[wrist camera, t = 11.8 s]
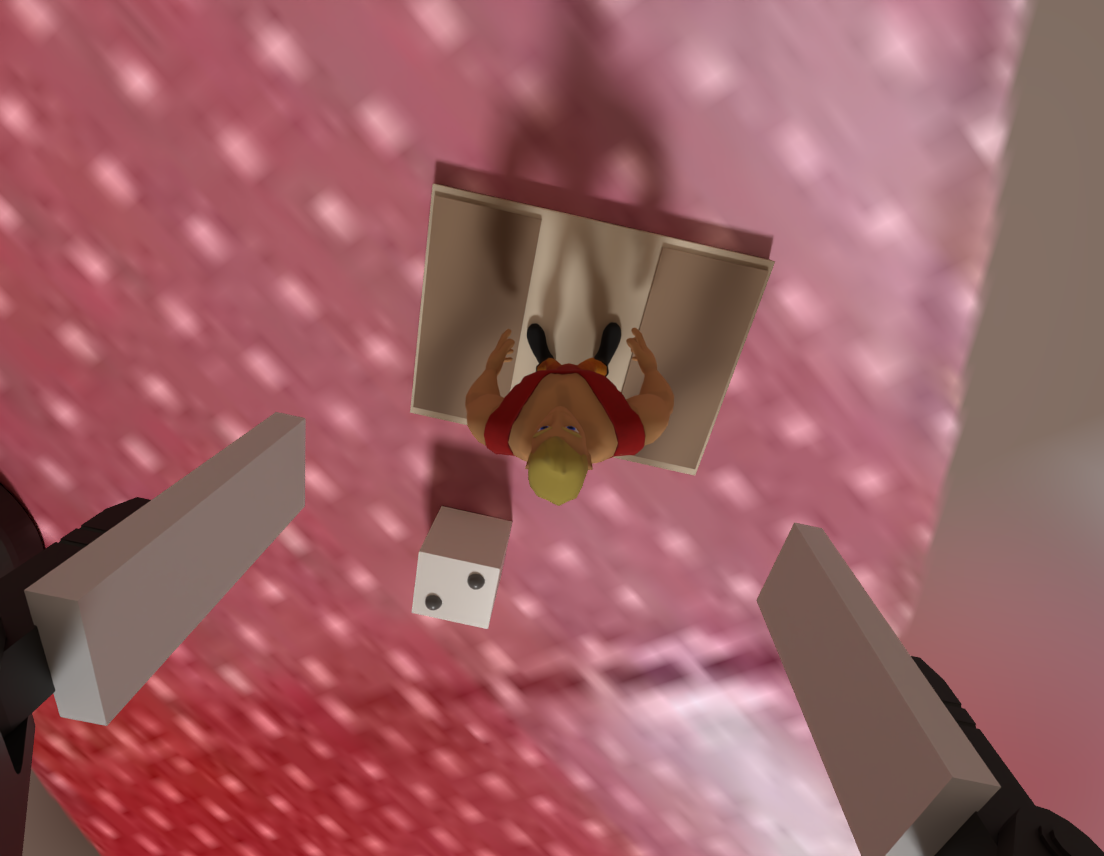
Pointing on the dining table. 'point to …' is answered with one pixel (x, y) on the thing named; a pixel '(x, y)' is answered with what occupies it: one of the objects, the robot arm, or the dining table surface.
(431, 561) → the die
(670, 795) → the dining table surface
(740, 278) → the board
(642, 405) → the action figure
